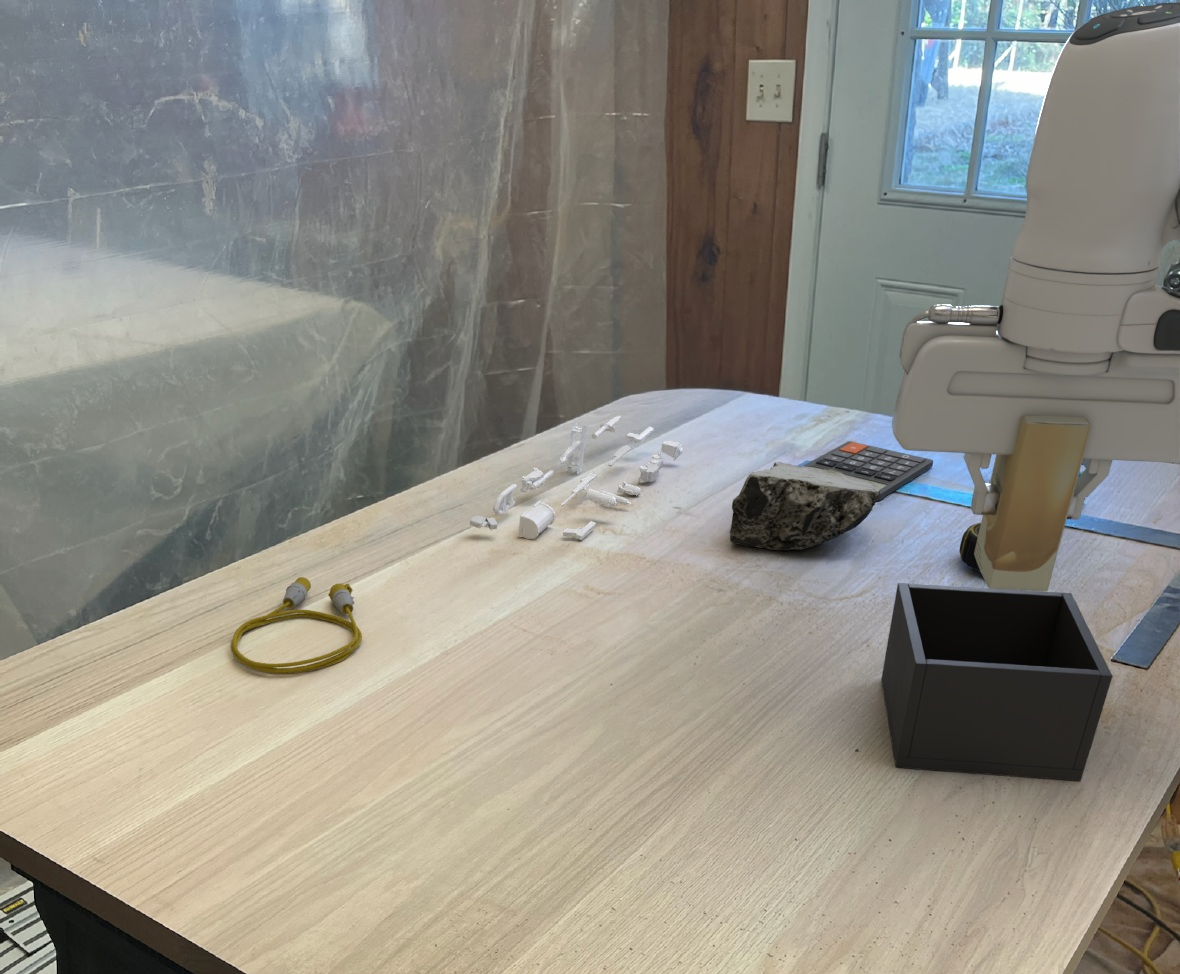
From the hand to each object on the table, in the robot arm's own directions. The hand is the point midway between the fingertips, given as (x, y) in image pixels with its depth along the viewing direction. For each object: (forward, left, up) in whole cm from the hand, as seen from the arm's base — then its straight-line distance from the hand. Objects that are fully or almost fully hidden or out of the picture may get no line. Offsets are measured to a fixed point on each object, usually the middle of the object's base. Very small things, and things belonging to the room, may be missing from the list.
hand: (1024, 514), depth 82 cm
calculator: (+5, -58, -18) cm, 61 cm away
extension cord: (+58, -8, -18) cm, 61 cm away
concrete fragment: (+13, -37, -18) cm, 43 cm away
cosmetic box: (0, 0, -5) cm, 5 cm away
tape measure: (-7, -32, -18) cm, 37 cm away
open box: (0, 0, -18) cm, 18 cm away
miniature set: (+37, -46, -18) cm, 62 cm away
